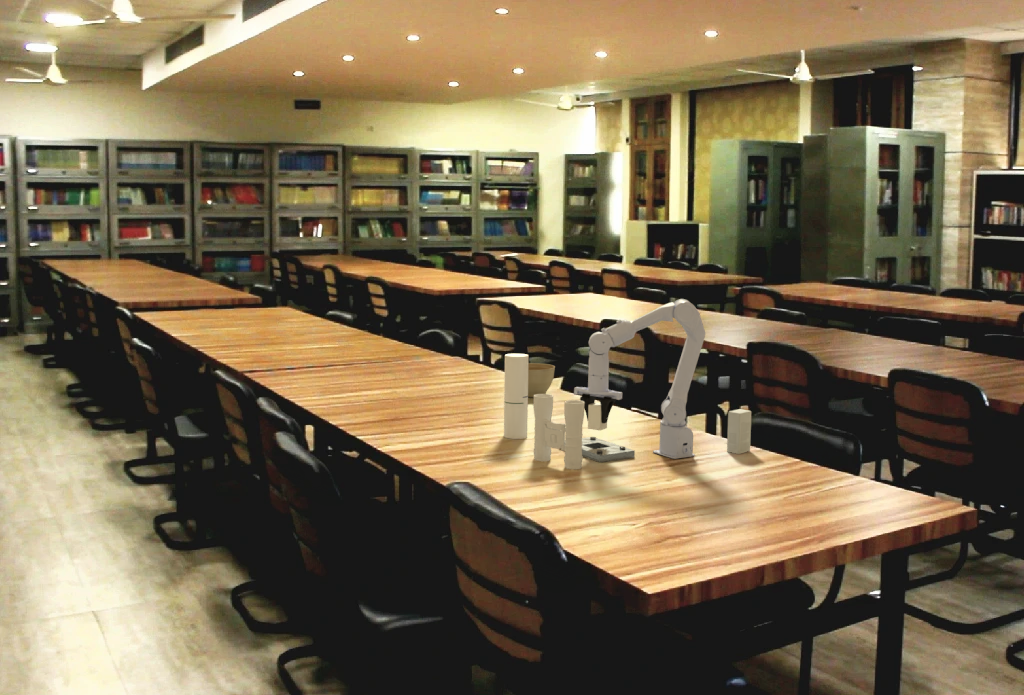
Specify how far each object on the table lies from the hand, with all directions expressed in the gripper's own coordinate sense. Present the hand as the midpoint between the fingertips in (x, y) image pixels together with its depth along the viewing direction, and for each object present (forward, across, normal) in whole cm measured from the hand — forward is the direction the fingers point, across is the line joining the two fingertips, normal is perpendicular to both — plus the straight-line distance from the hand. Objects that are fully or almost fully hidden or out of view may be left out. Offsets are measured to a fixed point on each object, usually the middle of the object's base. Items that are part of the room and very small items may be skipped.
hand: (597, 421), depth 304 cm
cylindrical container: (+9, +30, -4) cm, 32 cm away
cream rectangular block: (+2, 0, 0) cm, 2 cm away
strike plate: (+9, 0, 0) cm, 9 cm away
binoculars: (+9, +3, +18) cm, 20 cm away
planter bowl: (+9, +62, -65) cm, 90 cm away
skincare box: (+9, -33, -25) cm, 42 cm away
